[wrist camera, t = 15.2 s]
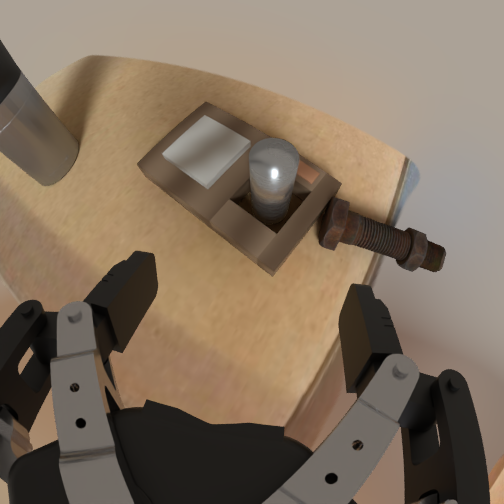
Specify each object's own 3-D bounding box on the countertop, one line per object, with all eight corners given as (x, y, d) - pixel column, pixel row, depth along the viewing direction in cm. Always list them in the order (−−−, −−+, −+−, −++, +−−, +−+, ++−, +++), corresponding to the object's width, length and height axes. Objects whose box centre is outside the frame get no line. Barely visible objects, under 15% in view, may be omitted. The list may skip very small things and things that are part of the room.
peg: (244, 210, 31) (238, 160, 21) (266, 185, 31) (269, 130, 22) (273, 231, 30) (279, 188, 20) (295, 205, 31) (308, 154, 21)
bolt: (422, 272, 30) (316, 237, 31) (435, 235, 29) (328, 195, 30) (443, 288, 25) (321, 249, 26) (459, 245, 23) (337, 198, 24)
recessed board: (145, 176, 32) (133, 159, 28) (209, 116, 34) (204, 96, 31) (272, 276, 29) (274, 268, 25) (335, 195, 31) (344, 179, 27)
